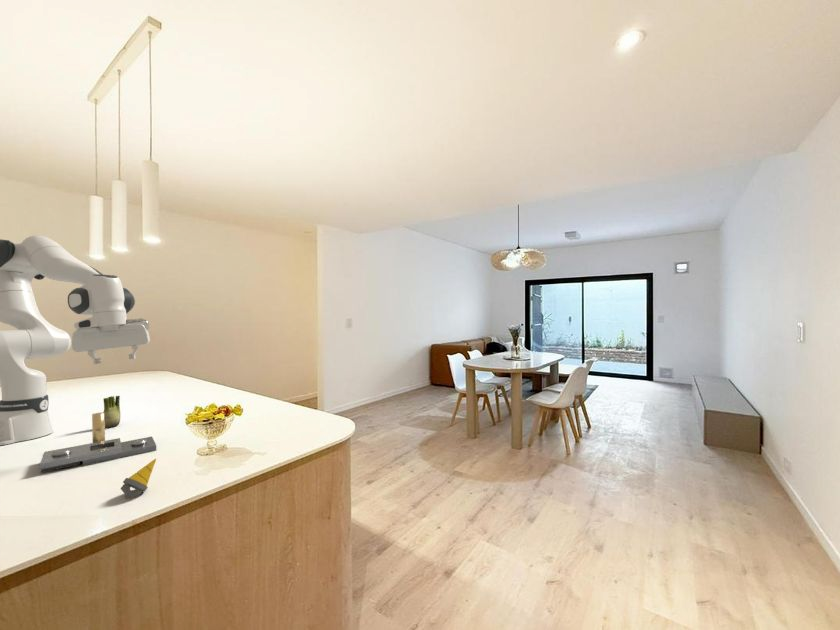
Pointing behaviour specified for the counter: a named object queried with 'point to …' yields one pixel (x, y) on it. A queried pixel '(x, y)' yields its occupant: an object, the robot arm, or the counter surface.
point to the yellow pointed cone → (138, 481)
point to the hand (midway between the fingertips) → (115, 361)
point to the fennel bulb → (112, 411)
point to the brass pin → (98, 427)
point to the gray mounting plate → (95, 453)
